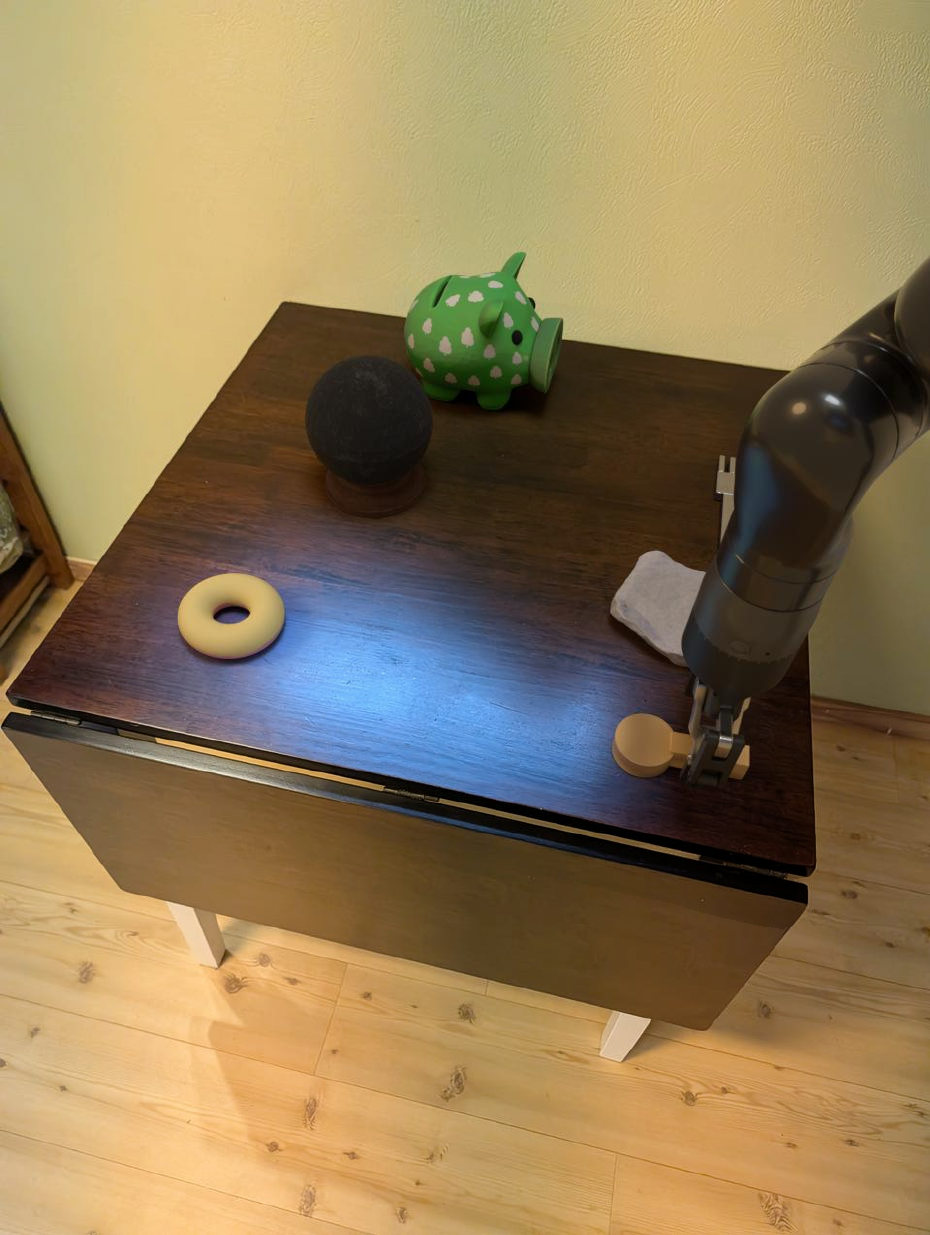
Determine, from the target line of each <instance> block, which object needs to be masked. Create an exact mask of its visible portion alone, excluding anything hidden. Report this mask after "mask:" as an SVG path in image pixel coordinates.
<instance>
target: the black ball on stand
mask: <svg viewBox="0 0 930 1235" xmlns="http://www.w3.org/2000/svg"><path fill="white" fill-rule="evenodd" d="M304 422H305V424H304V425H305V431H306V435H307V439H308V443H309V445H310V447H311V449H312V451H313V452H314V455H315V456H316V458H317V459H318V461H319V462H320V463H321V464H322V465H323V466H324V467H325V468H326V471H325V474H324V478H323V479H324V480H323V483H324V490H325V494H326V496H327V498H328V499H329V501H330V502H331V504H333V506H335V507H336V508H338V509H339V510H340V511H342V512H344V513H346V514H349V515H352V516H356V517H360V518H368V519H370V518H371V519H373V518H374V519H375V518H379V519H380V518H385V517H390V516H393V515H396V514H399V513H401V512H404V511H406V510H408V509H409V508H411V507H412V506H413V505H415V504H416V503H417V502H418V501H419V500H420V498H421V497H422V495H423V493H424V492H425V488H426V484H427V482H426V470H425V467H424V466H423V464H422V462H421V461H422V459H423V458H424V456H425V454H426V452H427V451H428V448H429V446H430V442H431V439H432V436H433V427H434V417H433V408H432V405H431V402H430V399H429V396H428V394H427V393H426V392H425V389H424V388H423V384H421V382H420V381H419V379H418V378H417V377H416V376H415V374H414V373H412V372H411V371H410V370H409V369H407V368H406V367H405V366H404V365H402V364H401V363H399V362H397V361H396V360H392V359H390V358H387V357H384V356H381V355H372V354H371V355H370V354H363V355H356V356H351V357H348V358H346V359H343V360H341V361H338V362H337V363H334V364H333V365H332V366H331V367H329V368H328V369H327V370H326V371H325V372H324V373H323V374H321V376H320V377H319V378H318V379H317V380H316V382H315V383H314V385H313V387H312V389H311V391H310V393H309V396H308V398H307V402H306V407H305V414H304Z"/></svg>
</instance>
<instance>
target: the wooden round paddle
mask: <svg viewBox="0 0 930 1235" xmlns="http://www.w3.org/2000/svg"><path fill="white" fill-rule="evenodd" d="M691 742H692V737H691V735H690V734H687V733H683V732H677V731H674V730H673V728H672V727H671V726H670V725H669V724H668V722H666V721H665V720H664V719H662V718H660V717H659V716H656V715H654V714H652V713H651V714H650V713H640V712H639V713H634V714H631V715H628V716H625V717H624V718H623V719H622V720H621V721H620V722H619V723H618V725H617V726H616V729H615V733H614V735H613V739H612V743H611V753H612V756H613V758H614V761H615V762H616V764H617V765H618V766H619V767H620V768H621V769H622V770H623V771H624V772H626V773H627V774H630V775H632V776H635V777H638V778H643V779H644V778H645V779H647V778H654V777H657V776H660V775H662V774H664V772H666V771H667V770H668V769H669V767H673V768H678V769H682V768H683V766H684V763H685V761H686V759H687V755H688V754H689V751H690V747H691ZM701 743H702V742H701ZM749 768H750V745H746V744H745V747H744V748H743V750H742V752H741V754H740V756H739V758H738V760H737V762H736V764H735V766H734V768H733V770H732V772H731V774H730V776H729V778H731V779H735V780H740V781H741V780H743V778H744V777H745V775H746V773H747V772H748V769H749Z"/></svg>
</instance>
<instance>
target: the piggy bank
mask: <svg viewBox="0 0 930 1235" xmlns="http://www.w3.org/2000/svg"><path fill="white" fill-rule="evenodd" d="M526 256H527V252H525V251H518V252H515V253H512V254H511V256H510V257H509V258H508V259H507V261H506V262H504V264H503V266H502V268H501V270H500V271H499V270H498V271H492V272H485V273H481V274H476V275H462V274H449V275H446V276H443V277H440V278H438V279H436V280H434V281H432V282H430V283H429V284H427V285H426V286H425V287H424V288H422V290H421V291H420V292H419V293H418V294H417V295H416V296H415V298H414V300H413V301H412V303H411V304H410V307H409V309H408V312H407V315H406V319H405V323H404V329H403V330H404V332H403V334H404V335H403V336H404V346H405V351H406V355H407V356H408V359H409V361H410V364H411V365H412V368H413V369H414V371H415V372H416V374H418V376H419V378H420V380H421V383H422V386H423V388H424V389H425V392H426V394H427V397H428V398H431V399H433V400H436V401H441V402H451V401H453V400H455V398H457V397H458V396H459V394H461V391H463V390H464V391H468V392H473V393H475V395H476V401H477V403H478V404H479V406H480V408H482V409H484V410H487V411H488V410H490V411H497V410H500V409H502V408H504V406H505V405H506V404H507V403H508V402H509V400H510V397H511V394H512V390H513V389H515V388H517V387H521V386H525V385H528V384H530V385H531V387H533V388H534V389H535V390H537V391H539V392H540V393H542V394H547V392H548V391H549V389H550V386H551V383H552V380H553V376H554V374H555V372H556V368H557V366H558V361H559V357H560V353H561V350H562V349H561V348H562V343H563V333H564V318H563V317H544V318H543V319H542V318H541V317H540V316H539V315H538V313H537V312H536V301H535V300H534V298H533V297H529V296H527V294H526V293H525V291H524V289H523V288H522V286H521V285H520V284H519V282H518V277H519V273H520V272H521V268H522V266H523V264H524V261H525V258H526Z"/></svg>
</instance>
